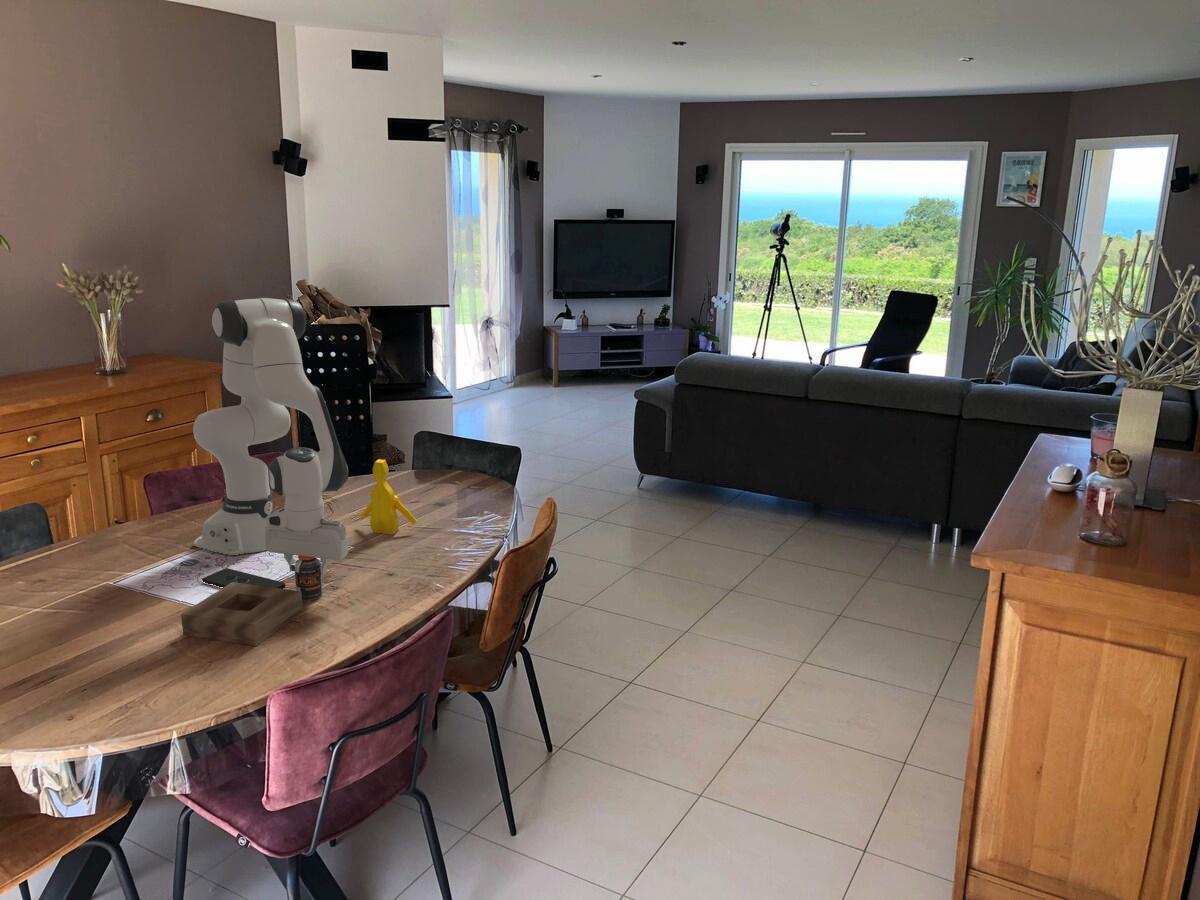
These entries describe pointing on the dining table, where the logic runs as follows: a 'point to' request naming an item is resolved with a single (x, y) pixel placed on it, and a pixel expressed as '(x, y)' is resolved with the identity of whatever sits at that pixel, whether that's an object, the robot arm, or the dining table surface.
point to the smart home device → (240, 579)
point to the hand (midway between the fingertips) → (308, 572)
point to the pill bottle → (308, 577)
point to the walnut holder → (242, 613)
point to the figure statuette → (384, 503)
